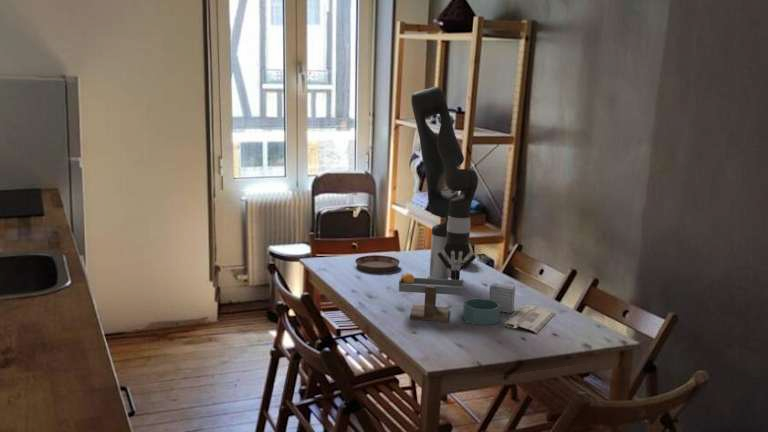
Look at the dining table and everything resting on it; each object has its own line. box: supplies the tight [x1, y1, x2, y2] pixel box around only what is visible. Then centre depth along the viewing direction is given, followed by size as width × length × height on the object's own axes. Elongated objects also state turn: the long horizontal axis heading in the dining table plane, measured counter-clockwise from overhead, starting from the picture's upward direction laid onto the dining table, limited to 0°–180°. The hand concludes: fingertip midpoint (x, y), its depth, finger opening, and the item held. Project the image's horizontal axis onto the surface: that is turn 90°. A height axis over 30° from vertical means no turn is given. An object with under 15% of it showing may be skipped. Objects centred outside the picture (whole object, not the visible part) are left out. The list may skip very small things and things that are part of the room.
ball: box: [402, 272, 415, 284], centre depth 229 cm, size 4×4×4 cm
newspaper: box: [503, 304, 556, 335], centre depth 229 cm, size 23×12×2 cm, turn 151°
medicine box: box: [488, 282, 516, 314], centre depth 236 cm, size 8×4×9 cm, turn 71°
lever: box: [398, 273, 464, 296], centre depth 232 cm, size 15×20×5 cm
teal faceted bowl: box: [462, 297, 501, 326], centre depth 228 cm, size 11×12×5 cm
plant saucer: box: [354, 254, 400, 273], centre depth 281 cm, size 18×18×3 cm
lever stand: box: [409, 276, 450, 323], centre depth 229 cm, size 11×12×11 cm
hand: (455, 280), depth 235 cm, fingers closed
